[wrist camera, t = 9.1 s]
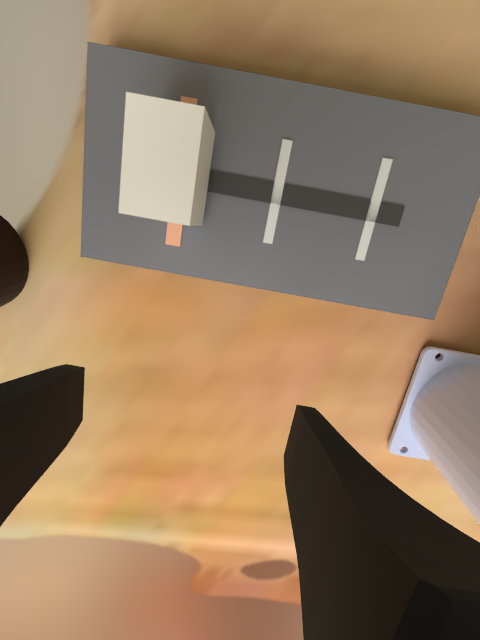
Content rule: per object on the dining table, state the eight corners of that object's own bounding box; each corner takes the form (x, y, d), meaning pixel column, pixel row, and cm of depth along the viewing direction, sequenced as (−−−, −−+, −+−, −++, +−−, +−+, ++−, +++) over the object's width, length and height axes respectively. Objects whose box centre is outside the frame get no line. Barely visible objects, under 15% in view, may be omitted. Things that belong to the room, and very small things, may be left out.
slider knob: (215, 132, 16) (204, 106, 12) (202, 225, 17) (189, 225, 14) (153, 121, 16) (126, 91, 12) (145, 215, 17) (118, 212, 13)
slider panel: (478, 132, 17) (508, 120, 15) (416, 311, 20) (435, 320, 18) (106, 62, 17) (86, 40, 15) (97, 253, 20) (79, 256, 18)
